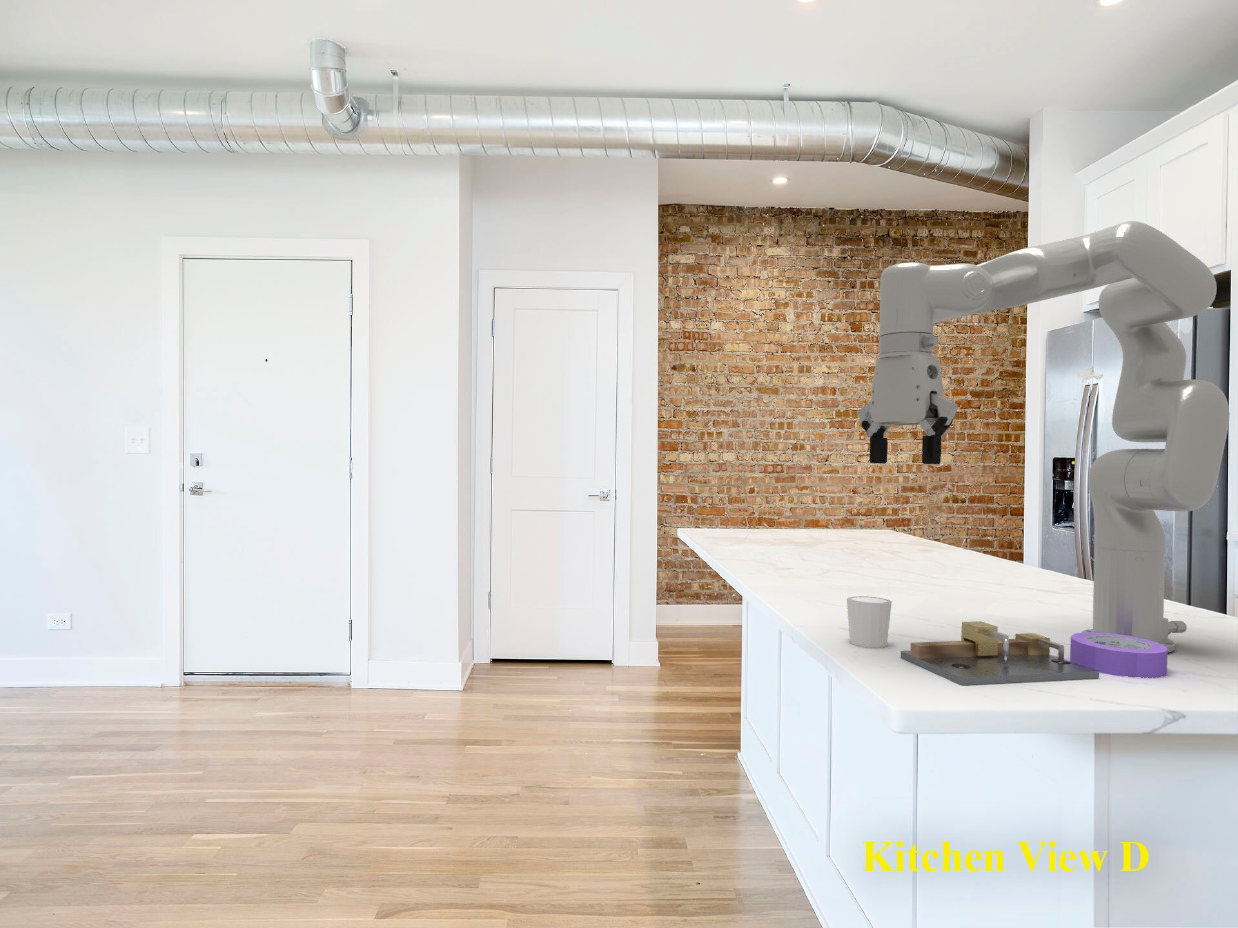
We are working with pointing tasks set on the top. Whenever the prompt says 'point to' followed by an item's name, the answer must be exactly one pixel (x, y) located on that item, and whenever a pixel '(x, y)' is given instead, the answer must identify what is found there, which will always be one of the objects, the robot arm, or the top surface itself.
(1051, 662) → the plate
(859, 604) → the light grey cup
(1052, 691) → the top surface
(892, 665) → the top surface
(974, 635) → the sliding head
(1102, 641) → the masking tape
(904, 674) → the top surface
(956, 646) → the trammel beam
